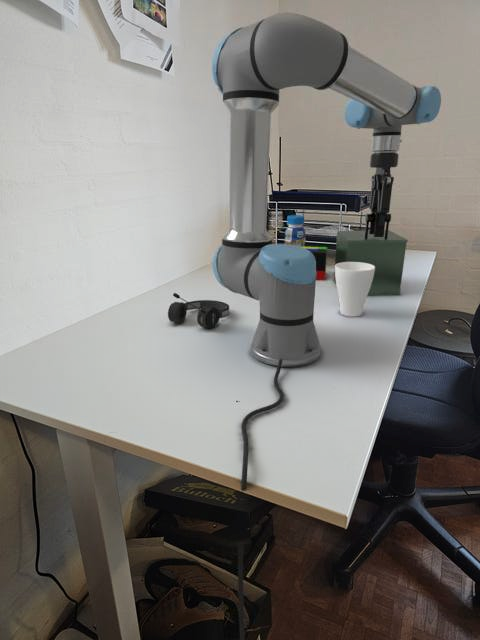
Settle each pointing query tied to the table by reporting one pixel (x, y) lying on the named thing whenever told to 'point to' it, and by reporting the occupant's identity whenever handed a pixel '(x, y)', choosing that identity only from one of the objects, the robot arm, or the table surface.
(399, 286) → the bin
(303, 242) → the beverage bottle
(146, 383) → the table surface
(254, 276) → the robot arm
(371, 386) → the table surface
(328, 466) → the table surface
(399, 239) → the bin lid
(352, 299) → the cup
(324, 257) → the puzzle toy
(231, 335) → the table surface
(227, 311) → the headset
